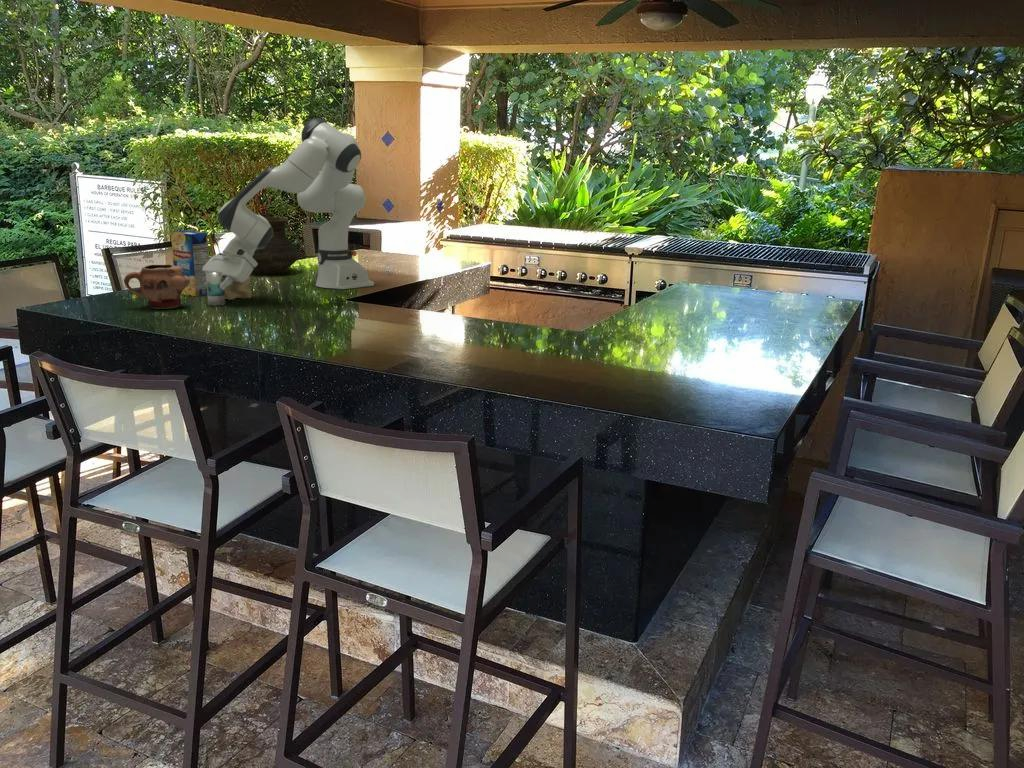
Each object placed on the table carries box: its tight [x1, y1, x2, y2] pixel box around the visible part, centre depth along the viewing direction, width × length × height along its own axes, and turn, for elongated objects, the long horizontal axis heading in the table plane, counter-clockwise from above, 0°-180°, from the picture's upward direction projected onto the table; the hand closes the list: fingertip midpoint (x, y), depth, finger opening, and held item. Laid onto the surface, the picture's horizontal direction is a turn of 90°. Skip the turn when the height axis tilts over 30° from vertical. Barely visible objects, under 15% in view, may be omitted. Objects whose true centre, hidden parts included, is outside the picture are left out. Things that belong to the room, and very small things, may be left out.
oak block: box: [224, 276, 252, 300], centre depth 304 cm, size 10×10×7 cm
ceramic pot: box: [252, 216, 301, 275], centre depth 355 cm, size 24×24×22 cm
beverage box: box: [170, 229, 210, 297], centre depth 305 cm, size 7×11×22 cm, turn 59°
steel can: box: [206, 271, 226, 307], centre depth 289 cm, size 6×6×11 cm
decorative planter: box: [123, 264, 190, 310], centre depth 281 cm, size 20×12×14 cm, turn 117°
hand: (213, 287), depth 289 cm, fingers closed on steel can, 6 cm apart
